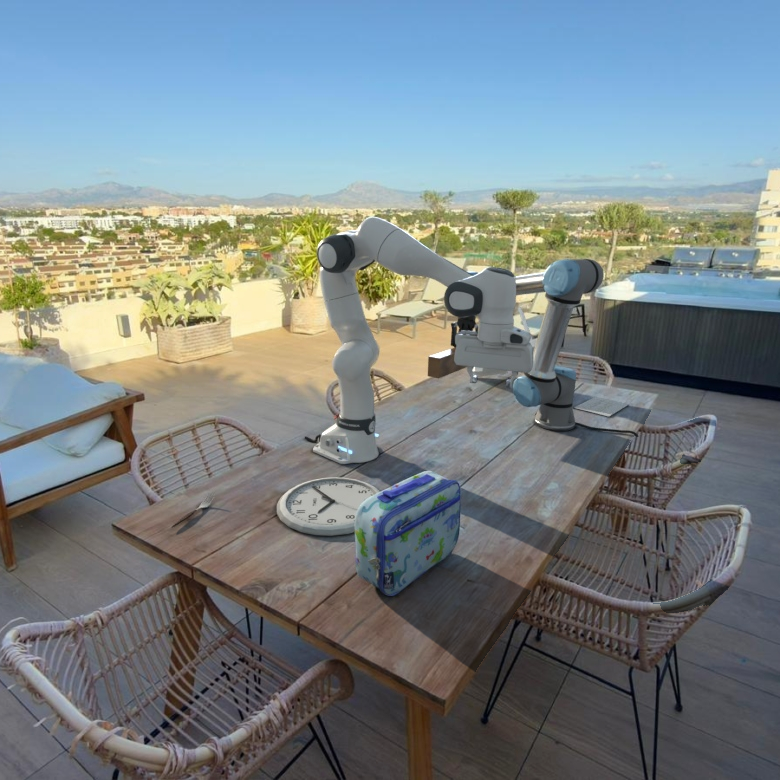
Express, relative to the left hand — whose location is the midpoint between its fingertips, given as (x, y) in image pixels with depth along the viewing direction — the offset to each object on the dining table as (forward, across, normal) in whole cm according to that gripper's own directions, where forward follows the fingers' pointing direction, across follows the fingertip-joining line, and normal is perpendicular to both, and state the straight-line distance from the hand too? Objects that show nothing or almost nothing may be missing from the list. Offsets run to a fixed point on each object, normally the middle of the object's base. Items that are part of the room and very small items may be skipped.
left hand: (491, 384), depth 138 cm
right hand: (+16, -27, +81) cm, 87 cm away
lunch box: (+34, -8, -38) cm, 52 cm away
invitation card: (+34, +30, +100) cm, 110 cm away
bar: (+17, -30, +70) cm, 78 cm away
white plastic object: (+34, -14, +118) cm, 123 cm away
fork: (+34, -68, -39) cm, 85 cm away
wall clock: (+34, -37, -20) cm, 54 cm away
